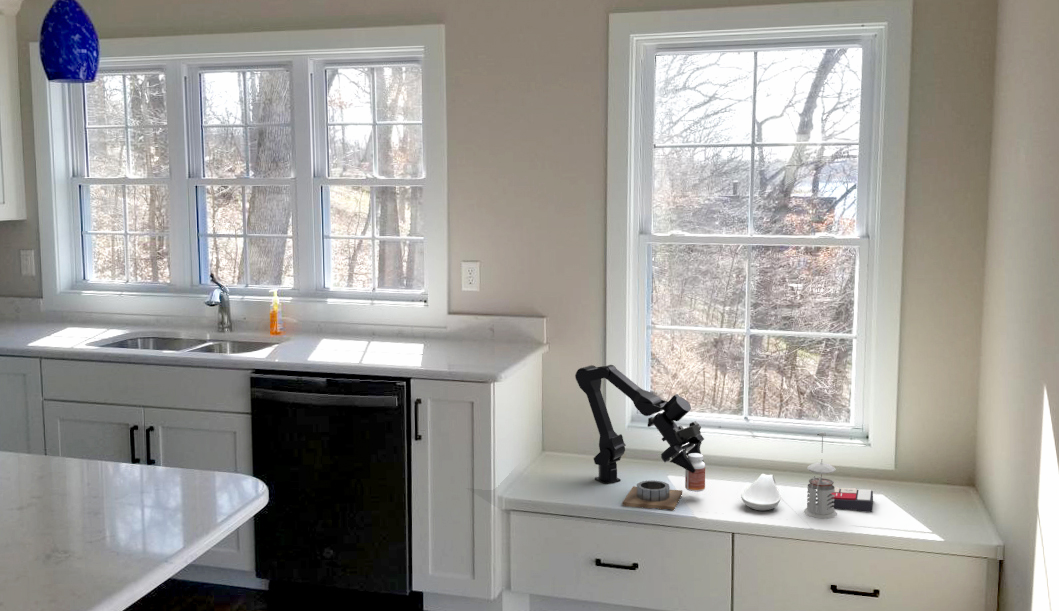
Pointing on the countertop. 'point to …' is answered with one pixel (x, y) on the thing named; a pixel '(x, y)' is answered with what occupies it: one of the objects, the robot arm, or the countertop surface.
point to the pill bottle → (695, 473)
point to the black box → (853, 499)
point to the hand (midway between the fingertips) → (699, 469)
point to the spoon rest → (762, 493)
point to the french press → (820, 491)
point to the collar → (653, 491)
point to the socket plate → (666, 504)
